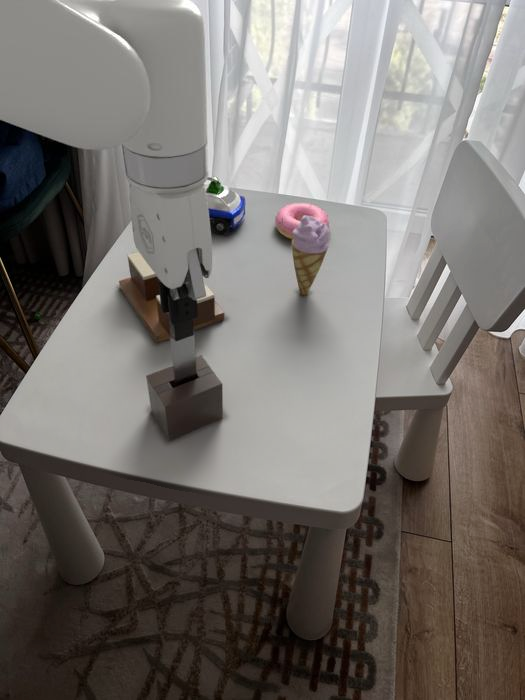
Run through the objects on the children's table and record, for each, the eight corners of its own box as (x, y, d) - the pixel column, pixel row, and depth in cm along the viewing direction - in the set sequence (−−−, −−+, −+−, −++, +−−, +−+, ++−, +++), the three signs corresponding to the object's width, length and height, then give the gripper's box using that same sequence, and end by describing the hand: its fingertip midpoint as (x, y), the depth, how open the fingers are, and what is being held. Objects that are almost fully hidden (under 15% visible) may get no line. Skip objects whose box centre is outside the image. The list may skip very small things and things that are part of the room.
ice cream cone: (284, 280, 97) (291, 205, 86) (318, 279, 97) (329, 205, 87) (288, 303, 92) (297, 227, 81) (324, 303, 92) (336, 227, 82)
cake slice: (169, 335, 83) (166, 310, 79) (158, 320, 85) (155, 295, 81) (215, 319, 86) (214, 294, 82) (203, 305, 88) (202, 280, 85)
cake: (146, 301, 88) (143, 277, 85) (130, 279, 92) (127, 254, 89) (190, 287, 91) (189, 263, 88) (173, 266, 95) (171, 242, 92)
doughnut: (318, 250, 104) (321, 231, 101) (266, 236, 107) (267, 218, 104) (334, 223, 111) (337, 205, 109) (285, 211, 114) (286, 193, 111)
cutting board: (156, 343, 83) (155, 336, 82) (119, 287, 93) (118, 280, 92) (224, 319, 88) (224, 312, 87) (182, 268, 98) (182, 262, 97)
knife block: (169, 441, 70) (165, 407, 65) (151, 410, 74) (145, 375, 69) (222, 417, 73) (222, 383, 69) (203, 389, 77) (201, 354, 72)
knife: (179, 398, 69) (167, 288, 57) (173, 390, 70) (161, 280, 58) (199, 389, 70) (193, 280, 58) (194, 382, 71) (187, 272, 59)
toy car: (195, 205, 114) (193, 163, 108) (249, 215, 112) (250, 172, 106) (179, 227, 108) (176, 183, 101) (236, 237, 106) (237, 194, 99)
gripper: (96, 134, 51) (123, 286, 64) (163, 208, 42) (178, 369, 55) (168, 121, 54) (180, 269, 67) (245, 188, 45) (242, 345, 58)
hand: (179, 313), depth 61 cm, fingers closed on knife, 1 cm apart
